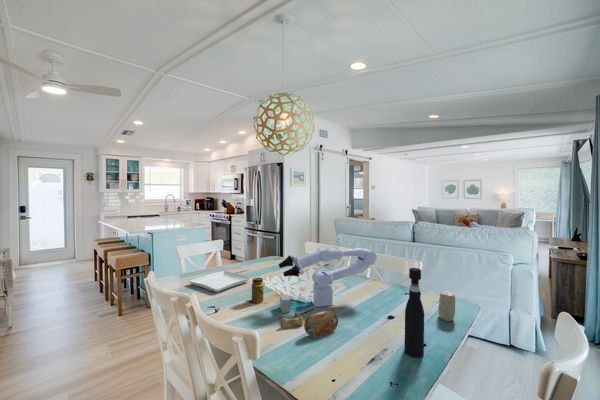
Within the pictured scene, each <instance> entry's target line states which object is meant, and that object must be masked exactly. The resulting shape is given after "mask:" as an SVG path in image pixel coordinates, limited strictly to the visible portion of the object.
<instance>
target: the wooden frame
mask: <svg viewBox="0 0 600 400" xmlns="http://www.w3.org/2000/svg"><path fill="white" fill-rule="evenodd" d="M277 316H278V318H279V319H280V322H281V325H282V328H283V329H286V328H287V329H288V328H295V327H302V326H303V327H304V323H303V322H304V317H303V316H301V315H299V312H297V311H296V312H294V318H286V317H284V316H283V313H279V314H277Z"/></svg>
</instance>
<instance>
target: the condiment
mask: <svg viewBox="0 0 600 400" xmlns="http://www.w3.org/2000/svg"><path fill="white" fill-rule="evenodd" d="M263 280H264V279H263V278H261V277H253V278H252V284H251V299H249V300H247V299H246V300H245V302H246V303H247V304H249V306H255V305H262V304H264V303H267V301H265V300H264V281H263Z"/></svg>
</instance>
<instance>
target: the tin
mask: <svg viewBox="0 0 600 400" xmlns="http://www.w3.org/2000/svg"><path fill="white" fill-rule="evenodd" d="M338 324H339V317H338V315H337V314H336V313H335V312H334V311H332V310H324V311H320V312H316V313H312V314H309V315H308V316H307V317H306V318H305V321H304V323H303V327H304V331H305V333H306V334H307V335H308V336H309V337H311V338H317V337H321V336H323V335H327V334H330V333H333V332H334V331H335V330H336V329H337V327H338Z"/></svg>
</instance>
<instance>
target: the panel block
mask: <svg viewBox="0 0 600 400" xmlns="http://www.w3.org/2000/svg"><path fill="white" fill-rule="evenodd" d="M291 302H292V301H291V298H290V296H289V294H281V295H279V308H280V311H281V314H285V313H291V310H292V309H291V308H292V305H291Z"/></svg>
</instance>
